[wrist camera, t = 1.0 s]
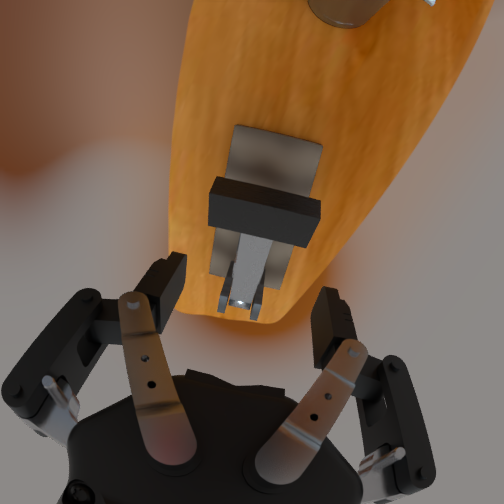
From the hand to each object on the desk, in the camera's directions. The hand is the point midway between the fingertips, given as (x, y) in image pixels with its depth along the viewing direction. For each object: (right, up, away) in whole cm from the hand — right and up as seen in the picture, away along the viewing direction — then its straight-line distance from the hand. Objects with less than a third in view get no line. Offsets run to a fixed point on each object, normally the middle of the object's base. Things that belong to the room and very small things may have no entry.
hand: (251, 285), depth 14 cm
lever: (0, +2, +18) cm, 18 cm away
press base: (+1, +8, +27) cm, 28 cm away
